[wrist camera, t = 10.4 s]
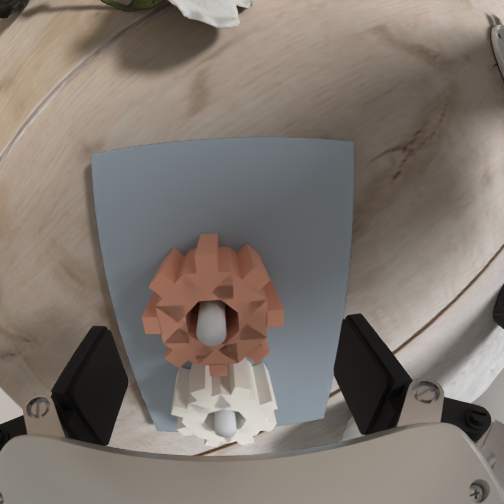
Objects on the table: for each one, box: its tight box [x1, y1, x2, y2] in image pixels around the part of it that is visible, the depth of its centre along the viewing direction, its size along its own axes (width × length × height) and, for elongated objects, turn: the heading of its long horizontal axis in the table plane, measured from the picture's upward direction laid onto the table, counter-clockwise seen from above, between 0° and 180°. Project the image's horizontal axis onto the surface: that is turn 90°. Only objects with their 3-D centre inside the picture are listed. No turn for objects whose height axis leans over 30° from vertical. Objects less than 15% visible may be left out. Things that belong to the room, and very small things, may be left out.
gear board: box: [91, 137, 354, 437], centre depth 16 cm, size 24×16×6 cm, turn 1°
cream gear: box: [171, 357, 278, 447], centre depth 18 cm, size 7×7×4 cm
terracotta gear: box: [142, 233, 284, 376], centre depth 15 cm, size 7×7×4 cm
